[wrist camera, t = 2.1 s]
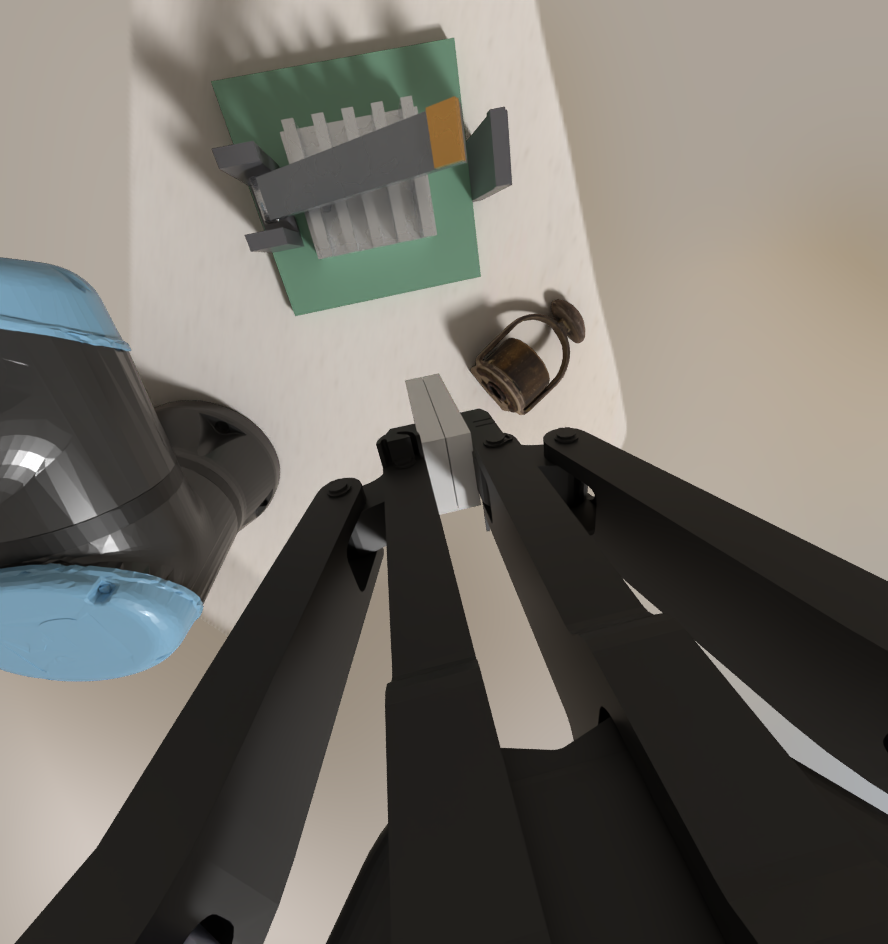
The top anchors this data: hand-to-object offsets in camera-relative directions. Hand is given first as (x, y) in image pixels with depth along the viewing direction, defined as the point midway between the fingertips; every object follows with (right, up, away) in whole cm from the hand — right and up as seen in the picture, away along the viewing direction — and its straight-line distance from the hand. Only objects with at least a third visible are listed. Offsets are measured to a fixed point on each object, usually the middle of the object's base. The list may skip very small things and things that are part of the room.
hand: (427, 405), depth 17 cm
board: (-6, +21, +15) cm, 27 cm away
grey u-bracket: (-13, +19, +14) cm, 27 cm away
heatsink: (-6, +20, +14) cm, 26 cm away
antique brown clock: (+10, +10, +25) cm, 29 cm away
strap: (-5, +15, +6) cm, 17 cm away
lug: (+3, +23, +16) cm, 28 cm away
